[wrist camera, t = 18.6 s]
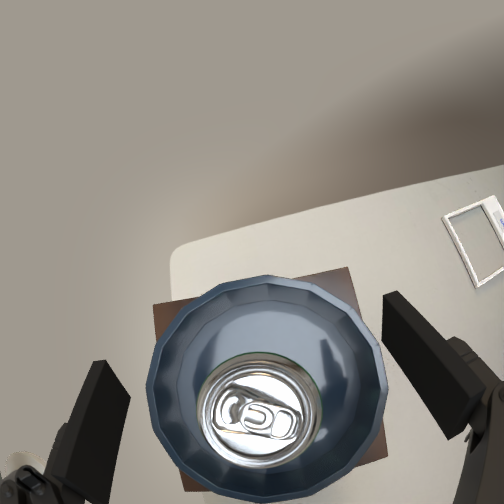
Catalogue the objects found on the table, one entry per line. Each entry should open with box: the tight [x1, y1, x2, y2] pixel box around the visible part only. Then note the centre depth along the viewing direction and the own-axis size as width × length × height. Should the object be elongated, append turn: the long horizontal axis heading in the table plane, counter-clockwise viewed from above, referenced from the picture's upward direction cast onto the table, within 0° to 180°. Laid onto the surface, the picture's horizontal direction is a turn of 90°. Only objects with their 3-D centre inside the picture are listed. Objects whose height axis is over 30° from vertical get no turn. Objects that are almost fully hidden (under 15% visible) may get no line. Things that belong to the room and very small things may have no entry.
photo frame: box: [442, 195, 504, 288], centre depth 43 cm, size 15×1×18 cm
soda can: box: [196, 351, 323, 469], centre depth 15 cm, size 5×5×12 cm
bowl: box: [146, 275, 389, 504], centre depth 19 cm, size 15×15×5 cm
